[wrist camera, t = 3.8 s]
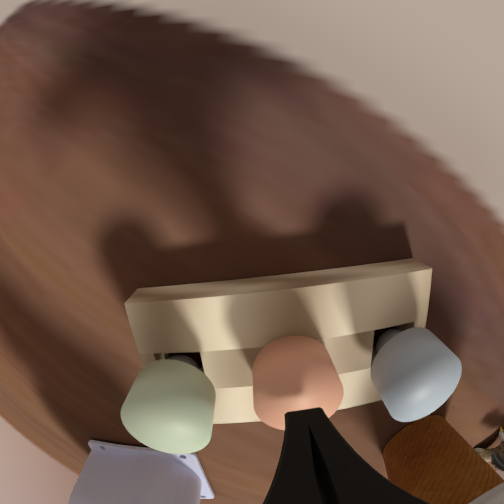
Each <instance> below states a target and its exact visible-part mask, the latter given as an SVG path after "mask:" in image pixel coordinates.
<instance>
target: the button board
mask: <svg viewBox="0 0 504 504" xmlns="http://www.w3.org/2000/svg"><path fill="white" fill-rule="evenodd" d="M431 277H432V268H430V267H429V266H427V265H425V264H423V263H421V262H420V261H418V260H416V259H414V258H410V259H403V260H396V261H388V262H381V263H373V264H366V265H358V266H350V267H342V268H334V269H326V270H317V271H309V272H300V273H292V274H283V275H274V276H264V277H255V278H245V279H236V280H226V281H215V282H205V283H194V284H183V285H172V286H160V287H148V288H138V289H137V290H136V291H135V292H134V293H133V294H132V295H131V296H130V298H129V299H128V300H127V301H126V302H125V303H124V304H125V308H126V312H127V315H128V319H129V323H130V326H131V330H132V333H133V336H134V340H135V343H136V346H137V349H138V352H139V355H140V358H141V361H142V364H143V366H145V365H146V364H148V363H150V362H152V361H156V360H162V359H168V358H169V355H168V353H184V352H200V355H201V360H202V364H203V368H199V370H200V371H202V372H203V373H204V374H205V375H206V376H207V377H208V378H209V379H210V381H211V382H212V384H213V386H214V388H215V392H216V401H215V409H214V417H213V424H219V423H240V422H254V421H261V420H260V419H259V418H258V416H257V415H256V413H255V411H254V405H253V377H252V367H253V363H254V360H255V358H256V356H257V355H258V353H259V352H260V351H261V350H262V349H263V348H264V347H265V346H266V345H268V344H269V343H271V342H273V341H275V340H277V339H280V338H283V337H288V336H306V337H310V338H312V339H315V340H317V341H318V342H320V343H321V344H322V345H323V346H324V347H325V348H326V349H327V351H328V353H329V355H330V357H331V360H332V362H333V364H334V366H335V369H336V371H337V373H338V376H339V378H340V380H341V383H342V385H343V390H344V395H343V399H342V402H341V404H340V406H339V407H338V409H337V410H340V409H345V408H350V407H354V406H359V405H363V404H367V403H372V402H376V401H380V400H382V398H381V397H380V395H379V393H378V391H377V389H376V388H375V386H374V384H373V382H372V380H371V366H372V363H373V361H374V359H375V357H376V355H377V351H376V346H373V341H374V330H377V329H382V328H387V327H392V326H396V328H399V329H401V330H402V331H404V330H407V329H410V328H415V327H421V328H425V326H426V319H427V312H428V305H429V297H430V288H431Z"/></svg>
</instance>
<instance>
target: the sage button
mask: <svg viewBox="0 0 504 504" xmlns="http://www.w3.org/2000/svg"><path fill="white" fill-rule="evenodd" d="M215 401H216V392H215V388H214V386H213V384H212V382H211V381H210V379H209V378H208V377H207V376H206V375H205V374H204V373H203V372H202V371H200V370H199V366H198V364H197V363H196V362H195V361H194V360H193V359H192V358H190V357H188V356H186V355H173V356H171V357H169V358H168V359H162V360H156V361H152V362H150V363H148V364H146V365H145V366H143V367H142V369H141V370H140V371H139V373H138V375H137V377H136V379H135V381H134V383H133V385H132V387H131V389H130V391H129V393H128V395H127V397H126V399H125V401H124V403H123V406H122V408H121V420H122V422H123V425H124V426H125V428H126V429H127V431H128V432H129V433H130V434H131V435H132V436H133V437H134V438H135V439H137V440H138V441H139V442H141V443H143V444H144V445H146V446H148V447H150V448H152V449H155V450H158V451H161V452H165V453H171V454H189V453H193V452H197V451H199V450H201V449H203V448H204V447H205V446H206V445H207V444H208V443H209V441H210V439H211V434H212V426H213V417H214V409H215Z"/></svg>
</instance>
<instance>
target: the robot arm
mask: <svg viewBox="0 0 504 504" xmlns="http://www.w3.org/2000/svg"><path fill="white" fill-rule="evenodd" d="M284 417H285V433H284V441H283V446H282V451H281V456H280V459H279V463H278V466H277V469H276V473H275V476H274V479H273V481H272V484H271V487H270V489H269V491H268V494H267V496H266V498H265V500H264V502H263V504H430V503H427V502H425V501H423V500H421V499H419V498H417V497H415V496H413V495H411V494H410V493H408V492H406V491H405V490H403V489H401V488H400V487H398V486H396V485H395V484H393V483H392V482H390V481H389V480H388V479H386V478H385V477H383V476H382V475H381V474H380V473H378V472H377V471H376V470H375V469H373V468H372V467H371V466H370V465H369V464H368V463H367V462H366V461H365V460H364V459H362V458H361V457H360V456H359V455H358V454H357V453H356V452H355V450H354V449H353V448H352V447H351V446H350V445H349V444H348V443H347V442H346V440H345V439H344V438H343V437H342V436H341V435H340V433H339V432H338V431H337V429H336V428H335V427H334V425H333V424H332V423H331V421H330V420H329V418H328V417H327V415H326V414H325V412H324V410H323V409H322V408H321V407H317V408H311V409H305V410H298V411H291V412H287V413H285V414H284ZM88 445H89V447H90V448H91V452H90V454H89V456H88V458H87V460H86V462H85V464H84V467H83V469H82V471H81V473H80V475H79V478H78V480H77V482H76V484H75V486H74V489H73V491H72V493H71V496H70V499H69V504H200V499H212V498H214V493H213V490H212V488H211V486H210V484H209V482H208V480H207V477H206V475H205V473H204V471H203V468H202V466H201V464H200V461H199V459H198V457H197V454H196V453H195V452H193V453H189V454H171V453H165V452H161V451H158V450H155V449H152V448H146V447H136V446H128V445H120V444H113V443H107V442H101V441H95V440H89V442H88Z"/></svg>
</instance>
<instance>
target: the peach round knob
mask: <svg viewBox="0 0 504 504" xmlns="http://www.w3.org/2000/svg"><path fill="white" fill-rule="evenodd" d="M252 377H253V405H254V411H255V413H256V415H257V416H258V418H259V419H260V420H261V421H262V422H264V423H265V424H267V425H269V426H271V427H273V428H277V429H281V430H285V417H284V414H285V413H287V412H291V411H298V410H305V409H311V408H317V407H321V408H322V409H323V410H324V412H325V414H326V415H327V417H328V418H329V417H330V416H331V415H333V414H334V412H335V411H336V410H337V409H338V407H339V406H340V404H341V402H342V399H343V395H344V390H343V385H342V383H341V380H340V378H339V376H338V373H337V371H336V369H335V366H334V364H333V362H332V360H331V357H330V355H329V353H328V351H327V349H326V348H325V347H324V346H323V345H322V344H321V343H320V342H318V341H317V340H315V339H312V338H310V337H306V336H288V337H283V338H280V339H277V340H275V341H273V342H271V343H269V344H268V345H266V346H265V347H264V348H263V349H262V350H261V351H260V352H259V353H258V355H257V356H256V358H255V360H254V363H253V367H252Z"/></svg>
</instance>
